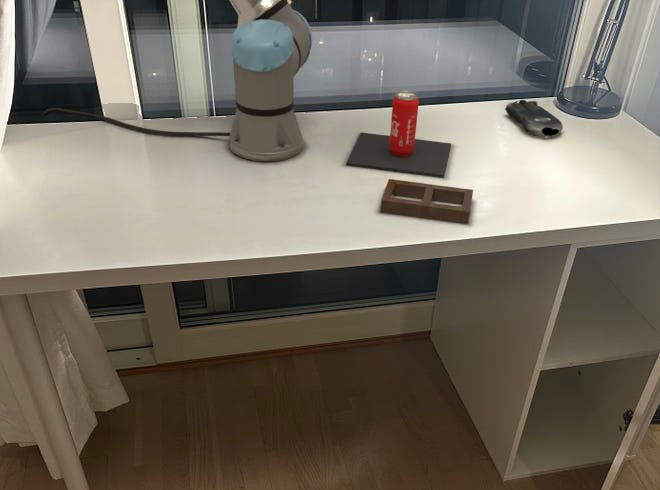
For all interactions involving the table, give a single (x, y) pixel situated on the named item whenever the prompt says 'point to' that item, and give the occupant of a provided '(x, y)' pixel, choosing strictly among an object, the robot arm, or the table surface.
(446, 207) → the tray
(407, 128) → the beverage can
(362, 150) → the mat
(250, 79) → the robot arm
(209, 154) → the table surface
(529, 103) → the electronic device
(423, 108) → the table surface
